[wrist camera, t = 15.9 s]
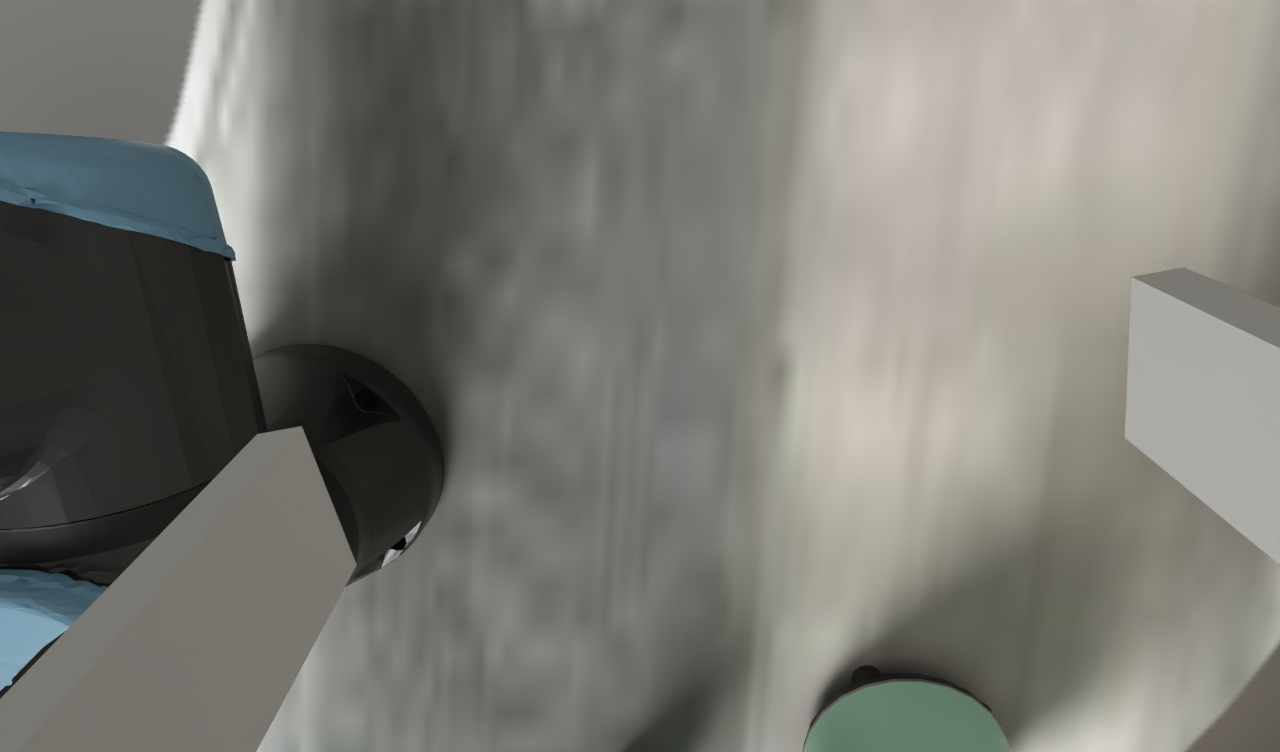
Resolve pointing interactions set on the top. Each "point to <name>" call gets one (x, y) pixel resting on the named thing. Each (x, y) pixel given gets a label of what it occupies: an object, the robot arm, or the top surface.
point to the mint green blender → (904, 717)
